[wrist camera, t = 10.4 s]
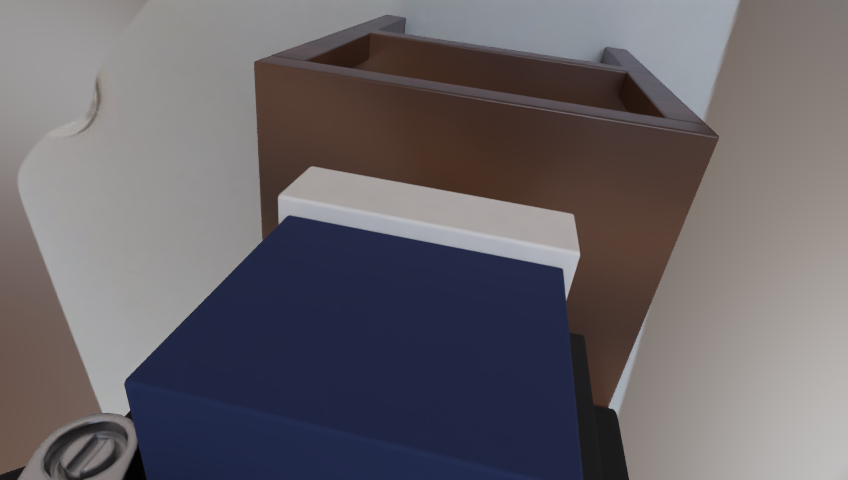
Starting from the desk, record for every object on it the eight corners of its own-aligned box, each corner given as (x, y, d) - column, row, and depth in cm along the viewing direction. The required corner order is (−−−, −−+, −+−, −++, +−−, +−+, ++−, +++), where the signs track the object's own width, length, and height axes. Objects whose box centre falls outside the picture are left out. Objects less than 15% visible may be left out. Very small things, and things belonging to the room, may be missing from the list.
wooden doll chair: (386, 14, 30) (136, 101, 11) (627, 49, 29) (810, 218, 10) (373, 198, 36) (194, 459, 17) (572, 235, 35) (620, 566, 16)
